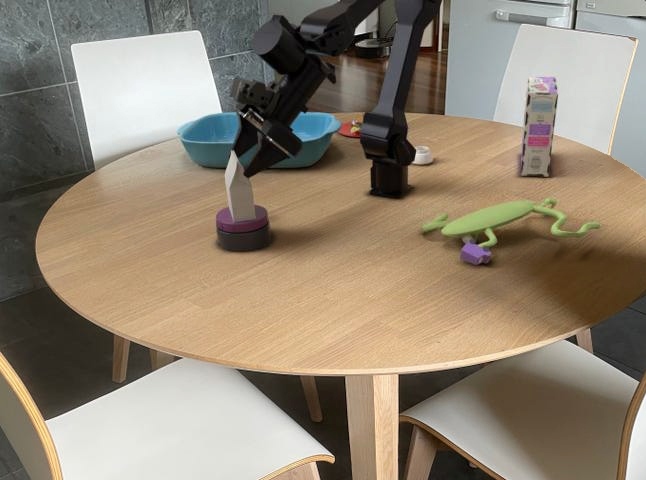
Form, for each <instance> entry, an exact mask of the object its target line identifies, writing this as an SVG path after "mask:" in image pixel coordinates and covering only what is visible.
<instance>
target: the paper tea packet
mask: <svg viewBox="0 0 646 480" xmlns="http://www.w3.org/2000/svg"><path fill="white" fill-rule="evenodd" d="M244 170H245V168H243V167H242V165H241V164H240V162H239V161H238V159H237V157H236V154H235V152H234V150H233V151H232V150H231V156H230V160H229V163H228V166H227V168H225V172H224V175H223V176H224V183H225V189H226V196H227V204H228V207H229V209H230V212H231V215H232V218H233V221H234V222H241V221H248V220H256V215H255V207H254V205H255V199H254V193H253V192H254V191H253V185H252V183H251V179H250V178H246V177H245V176H244V175H243V172H244Z"/></svg>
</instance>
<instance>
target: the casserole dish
mask: <svg viewBox="0 0 646 480" xmlns="http://www.w3.org/2000/svg"><path fill="white" fill-rule="evenodd" d="M237 112H238V113H240V114H241V111H237ZM342 124H343V123H342V122H341V121H340V120H338V119H336V116H335V115H334V114H332V113H328V112H320V111H319V112H318V111H317V112H316V111H307V112H306V114H304V113H303V112H302V111H301V113H300V114H299V115H298V117H297V118H296V119H295V121H294V122H293V124H292V125H291V126H290V127H291V128H292V129H293V131H292V132H293V133H294V134H295V135H296V136H298V137H299V138H300V139H301V140H302V147H303V148H302V150H301V151H300V153H299V154H298V155H297V157H296V158H295V157H294V156H292V155H291V154H290V153H288V155H289V156H290V157H291V158H290V159H285V160H283V161H281V162H279V163H277V164H275V165H273V166H271V167H269V168H268V169H296V168H304V167H306V168H307V167H309V166H312V165H314V164H316V163H317V162H318V161H319V160H320V159H321V158H322V157H323V155H324V154H325V153H326V151H327V150H328V148H329V146H330V144H331V142H332V138H333V134H335V133H338V132H337V131H339V130H340V128H341V126H342ZM238 128H239V122H238V117H237V115H236V111H235V112H234V111H233V112H231V111H230V112H229V111H228V112H217V113H211V114H207V115H204V116H201V117H200V118H197V119H195V120H191V121H188V122H186V123H184V124H182V125H181V126H180V127H179V128H178V129H177V130H176V133H177V135H179V139H180V141H181V144H182V145H183V147H184V149H185V151H186V153H187V154H188V156H189V157H190V159H191V160H192V161H193V162H194V163H196V164H198V165H200V166H202V167H205V168H219V169H220V168H221V169H227V166H228V163H229V160H230V159H229V158H228V156H229V154H230V151H231V148H232V145H233V143H234V140H235V137H236V134H237V131H238ZM260 130H261V129H260ZM261 131H262V130H261ZM262 132H263V131H262ZM257 146H258V144H256V145H255V146H254V147H253V148H251V149H250V150H249V151H247V152H246V153H245V154H243V155H242V156H241V157H239V158H238V161H239V162H240V164H241V165H242V167H243V168H244V169H245V168H246V166H247V164H248V163H249V161H250V159H251V157H252V155H253V154H254V152H255V150H256V148H257Z"/></svg>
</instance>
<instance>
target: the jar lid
mask: <svg viewBox="0 0 646 480" xmlns="http://www.w3.org/2000/svg"><path fill="white" fill-rule="evenodd" d="M254 207H255V215H256V220H248V221H241V222H234V221H233V218H232V215H231V212H230V209H229V206H227V207H223V209H220V210H219V211H218V212H217V213H216V214H215V225H216V224H217V226H218V228H219V229H221V230H223V231H227V232H236V233H239V232H248V231H253V230H256V229H259V228H261V227H263V226H264V225H266V224H267V222H268V219H269V213H268V210H267V208H265V206H261V205H259V204H254Z"/></svg>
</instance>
